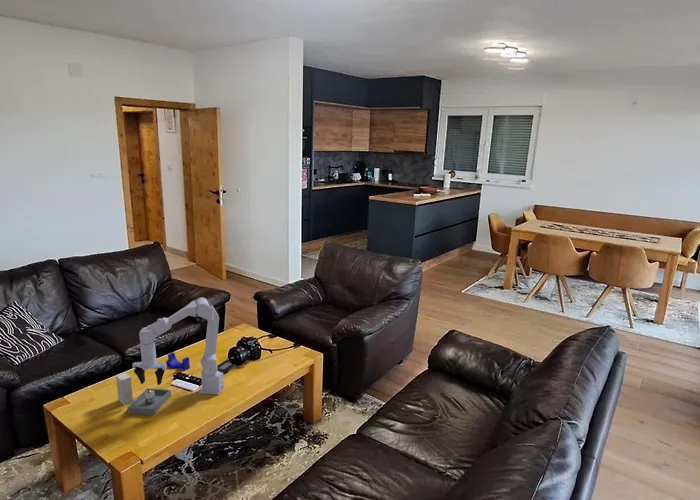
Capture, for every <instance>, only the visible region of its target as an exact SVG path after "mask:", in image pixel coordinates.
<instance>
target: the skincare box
mask: <svg viewBox="0 0 700 500" xmlns="http://www.w3.org/2000/svg"><path fill="white" fill-rule="evenodd" d="M115 378H116V387H117V389H116V390H117V399H118V401H119V402H120V403H121V404H122V405H123V406H126V405H128V404H129V405H130V404H131V403H132V402H133V401H134V397H133V388H132V387H133V385H132V377H131V376H130V375H129V374H128V373H126V372H124V373H120V374H117V375H115Z"/></svg>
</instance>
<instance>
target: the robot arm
mask: <svg viewBox="0 0 700 500" xmlns="http://www.w3.org/2000/svg"><path fill="white" fill-rule="evenodd" d="M197 316H199V317H200V318H203V319H205V320H206V321H207V326H206V335H205V348H204V352H203V356H202V358H201V359H200V365H201V367H202V369H201V372H200V373H201V376H200V377H201V389H200V390H199V392H198V394H202V395H203V394H204V395H205V394H206V395H220V393H221V392H222V390H223V389H224V388H225V386H226V385H225V378H224V376H225V375H223V373H222V372H219V371H218V367H217V366H218V364H217V345H218V334H219V326H220V325H219V324H220V316H219V313H218V312H217V311H216V309H215V307H214V306H213V304H212V303H211V301H210V300H208V299H206V298H205V297H203V296H202V297H198V298H196V299H194V300H192V301H190V303H188V304H187V305H185V306H184V307H183V308H181V309H179V310H178V311H177V312H174V313H173V314H172V315H170V316H169V317H162V318H157V321H155V322H153V323H151V324H148V325H147V326H145V327H142V328H141V329H140V330H139V334H138V336H139V341H140V342H139V344H140V355H141V361H137V362H136V361H135V362H133V363H132V369H134V370H133V373H134V374H135V375H136V376H137V378H138V379H139V381H140V384H141V385H143V384H144V383H146V374H145V372H146V371H147V370H152V369H153V370H155V371H154V375H155V377H156V384H157V385H158V386H160V385H161V384H162V381H163V376H164V373H165V371H166V370H167V368H168V367H167V364H166V363H163V362H162V363H161V362H158V361H157V352H156V343H155V339H156V338H158V337H159V336H161V335H162V334H164V333H166V332H167V331H169V330H171V329H172V325H174V324H176V323H178V322H179V321H182V320H183V319H186V318H187V317H195V318H196V317H197Z"/></svg>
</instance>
